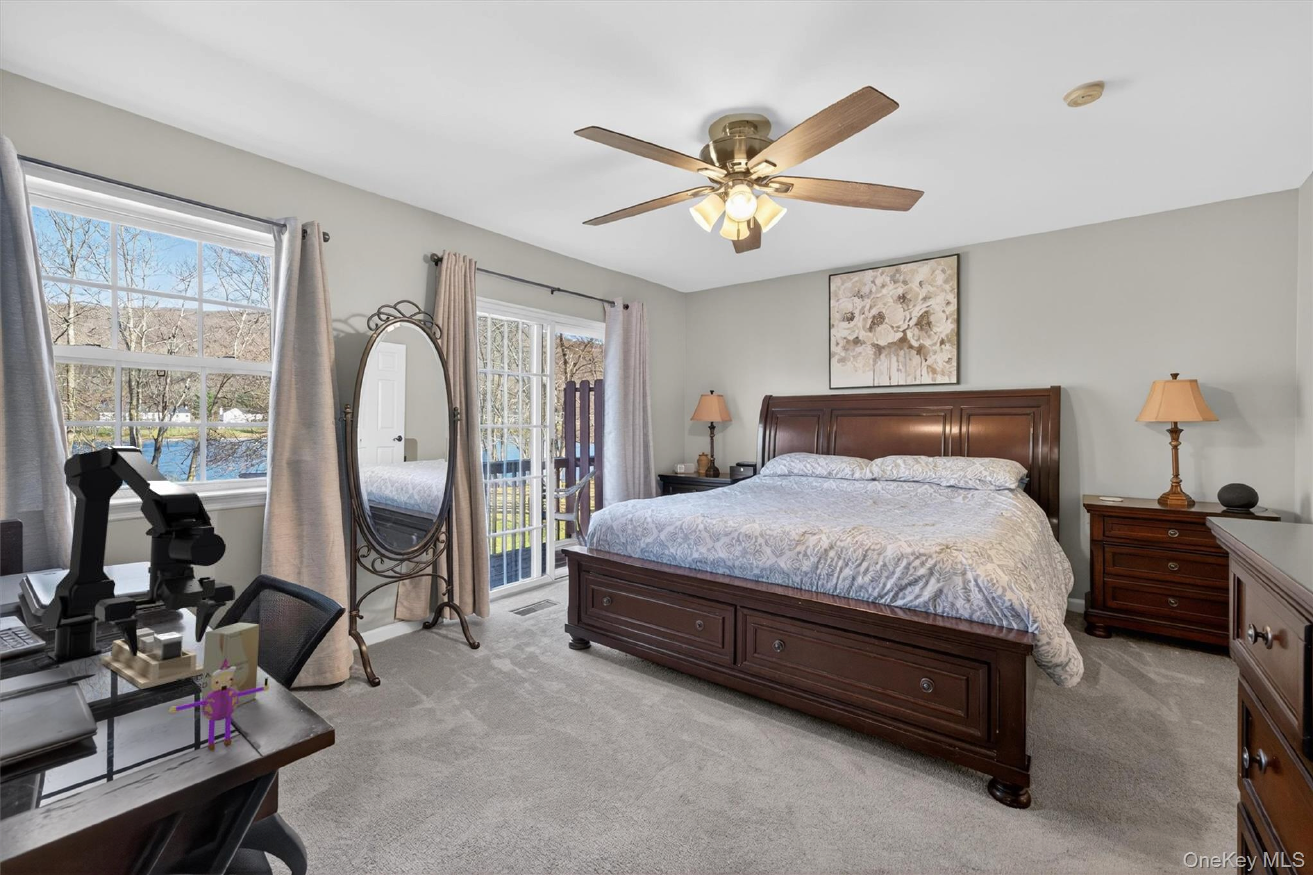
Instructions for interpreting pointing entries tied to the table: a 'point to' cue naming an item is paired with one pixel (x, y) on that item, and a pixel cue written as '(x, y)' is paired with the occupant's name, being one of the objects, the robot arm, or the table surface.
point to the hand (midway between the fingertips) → (167, 648)
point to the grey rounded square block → (167, 646)
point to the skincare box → (232, 657)
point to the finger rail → (149, 663)
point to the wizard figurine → (219, 700)
